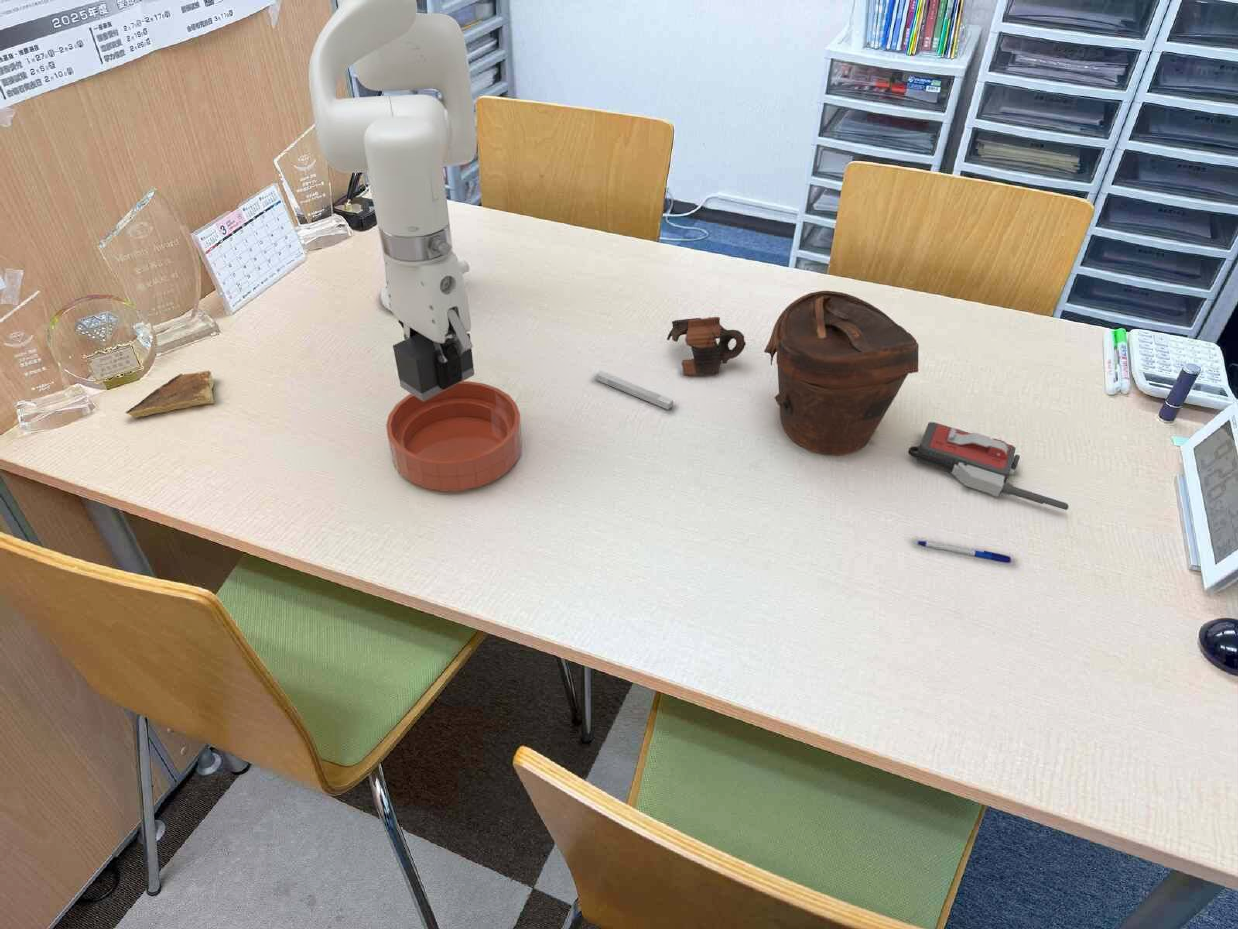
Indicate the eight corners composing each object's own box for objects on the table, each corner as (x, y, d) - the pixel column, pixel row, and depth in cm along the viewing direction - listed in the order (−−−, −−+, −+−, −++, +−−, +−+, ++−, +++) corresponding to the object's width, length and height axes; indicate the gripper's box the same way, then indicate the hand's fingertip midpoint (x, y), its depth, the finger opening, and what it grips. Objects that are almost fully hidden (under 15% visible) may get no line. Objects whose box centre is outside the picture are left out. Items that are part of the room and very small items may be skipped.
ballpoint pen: (1008, 559, 97) (1011, 553, 96) (1009, 564, 96) (1012, 558, 96) (917, 543, 99) (919, 537, 98) (917, 548, 98) (919, 542, 97)
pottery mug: (663, 377, 124) (659, 322, 122) (679, 370, 132) (675, 319, 131) (742, 373, 119) (739, 316, 118) (754, 366, 128) (751, 313, 127)
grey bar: (596, 379, 122) (596, 374, 121) (600, 376, 122) (600, 370, 122) (668, 409, 117) (668, 404, 116) (672, 405, 117) (673, 400, 117)
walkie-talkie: (901, 469, 108) (1063, 521, 102) (910, 443, 105) (1077, 495, 99) (915, 432, 114) (1069, 479, 108) (924, 407, 111) (1083, 453, 105)
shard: (129, 421, 112) (124, 410, 111) (132, 389, 118) (128, 379, 116) (214, 405, 115) (210, 395, 114) (214, 375, 121) (210, 365, 119)
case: (787, 371, 125) (808, 263, 113) (915, 420, 116) (951, 309, 104) (729, 430, 114) (745, 317, 102) (865, 489, 105) (900, 373, 93)
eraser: (451, 360, 106) (446, 320, 102) (474, 375, 104) (469, 334, 100) (400, 386, 102) (392, 345, 98) (423, 402, 99) (416, 360, 95)
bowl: (466, 398, 118) (463, 366, 114) (548, 451, 109) (546, 418, 106) (367, 452, 108) (359, 420, 105) (448, 515, 100) (442, 481, 96)
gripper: (493, 252, 88) (505, 390, 100) (398, 205, 97) (420, 338, 109) (437, 275, 84) (456, 417, 96) (343, 225, 92) (372, 361, 104)
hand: (437, 374), depth 102 cm, fingers closed on eraser, 4 cm apart
